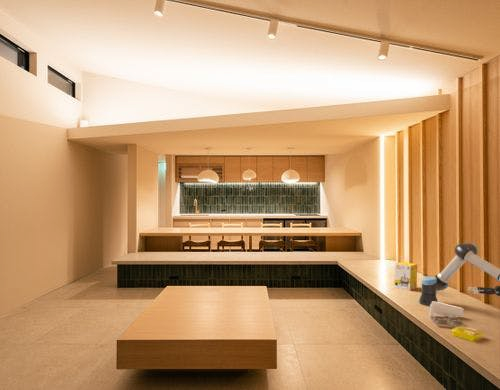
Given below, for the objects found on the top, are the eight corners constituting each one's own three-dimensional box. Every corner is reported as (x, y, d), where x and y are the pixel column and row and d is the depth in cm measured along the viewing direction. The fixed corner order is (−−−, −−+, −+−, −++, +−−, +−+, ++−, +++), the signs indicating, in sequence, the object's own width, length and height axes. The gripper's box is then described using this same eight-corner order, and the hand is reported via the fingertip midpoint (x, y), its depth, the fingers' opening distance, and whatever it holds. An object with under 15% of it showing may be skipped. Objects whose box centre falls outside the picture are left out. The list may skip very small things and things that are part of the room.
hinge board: (430, 318, 277) (430, 313, 277) (459, 321, 273) (459, 315, 273) (439, 327, 257) (439, 321, 257) (469, 330, 253) (469, 324, 254)
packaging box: (394, 287, 375) (395, 263, 375) (401, 285, 386) (402, 261, 386) (409, 290, 363) (410, 265, 363) (416, 288, 374) (417, 264, 374)
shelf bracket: (427, 315, 284) (430, 300, 285) (456, 322, 285) (460, 307, 285) (430, 317, 279) (434, 302, 279) (461, 325, 280) (464, 309, 280)
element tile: (484, 338, 240) (484, 331, 240) (474, 343, 231) (474, 335, 231) (461, 331, 252) (461, 324, 252) (450, 335, 244) (450, 328, 244)
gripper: (509, 299, 262) (477, 298, 267) (496, 293, 286) (466, 292, 291) (508, 288, 262) (476, 288, 268) (495, 283, 286) (465, 283, 292)
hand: (471, 290), depth 280 cm, fingers open, 13 cm apart
